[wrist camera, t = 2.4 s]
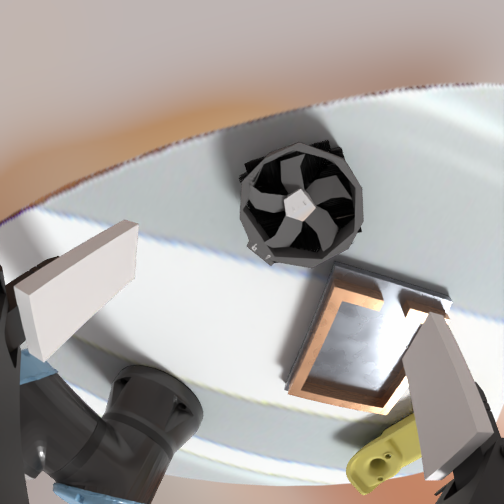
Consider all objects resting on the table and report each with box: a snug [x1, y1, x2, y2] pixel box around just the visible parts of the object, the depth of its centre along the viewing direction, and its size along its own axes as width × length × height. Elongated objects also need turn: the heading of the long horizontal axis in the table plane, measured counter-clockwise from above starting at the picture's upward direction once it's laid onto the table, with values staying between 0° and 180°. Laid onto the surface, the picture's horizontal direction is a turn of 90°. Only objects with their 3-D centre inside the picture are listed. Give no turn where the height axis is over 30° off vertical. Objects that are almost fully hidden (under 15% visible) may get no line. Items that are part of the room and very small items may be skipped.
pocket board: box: [284, 261, 453, 415], centre depth 33 cm, size 14×18×3 cm
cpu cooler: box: [239, 140, 363, 268], centre depth 27 cm, size 10×6×10 cm
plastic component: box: [346, 413, 422, 495], centre depth 37 cm, size 20×7×10 cm
